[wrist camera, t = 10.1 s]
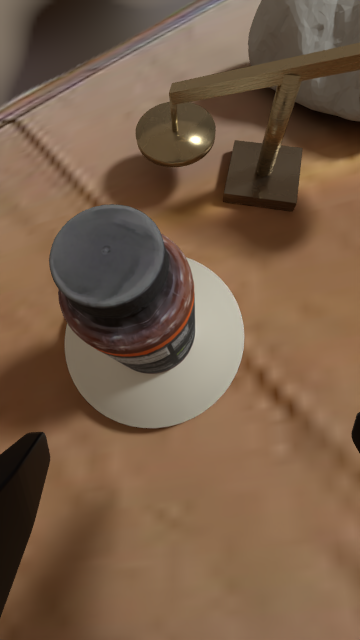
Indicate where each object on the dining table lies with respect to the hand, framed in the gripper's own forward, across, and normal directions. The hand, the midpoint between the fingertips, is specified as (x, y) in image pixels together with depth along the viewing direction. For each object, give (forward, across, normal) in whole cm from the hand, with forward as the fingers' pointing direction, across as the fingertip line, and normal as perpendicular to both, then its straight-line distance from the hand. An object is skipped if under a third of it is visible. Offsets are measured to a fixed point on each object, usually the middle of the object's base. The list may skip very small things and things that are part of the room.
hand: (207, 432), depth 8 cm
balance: (+21, -8, -9) cm, 24 cm away
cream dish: (+13, +2, +3) cm, 14 cm away
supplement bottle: (+12, +2, +2) cm, 13 cm away
